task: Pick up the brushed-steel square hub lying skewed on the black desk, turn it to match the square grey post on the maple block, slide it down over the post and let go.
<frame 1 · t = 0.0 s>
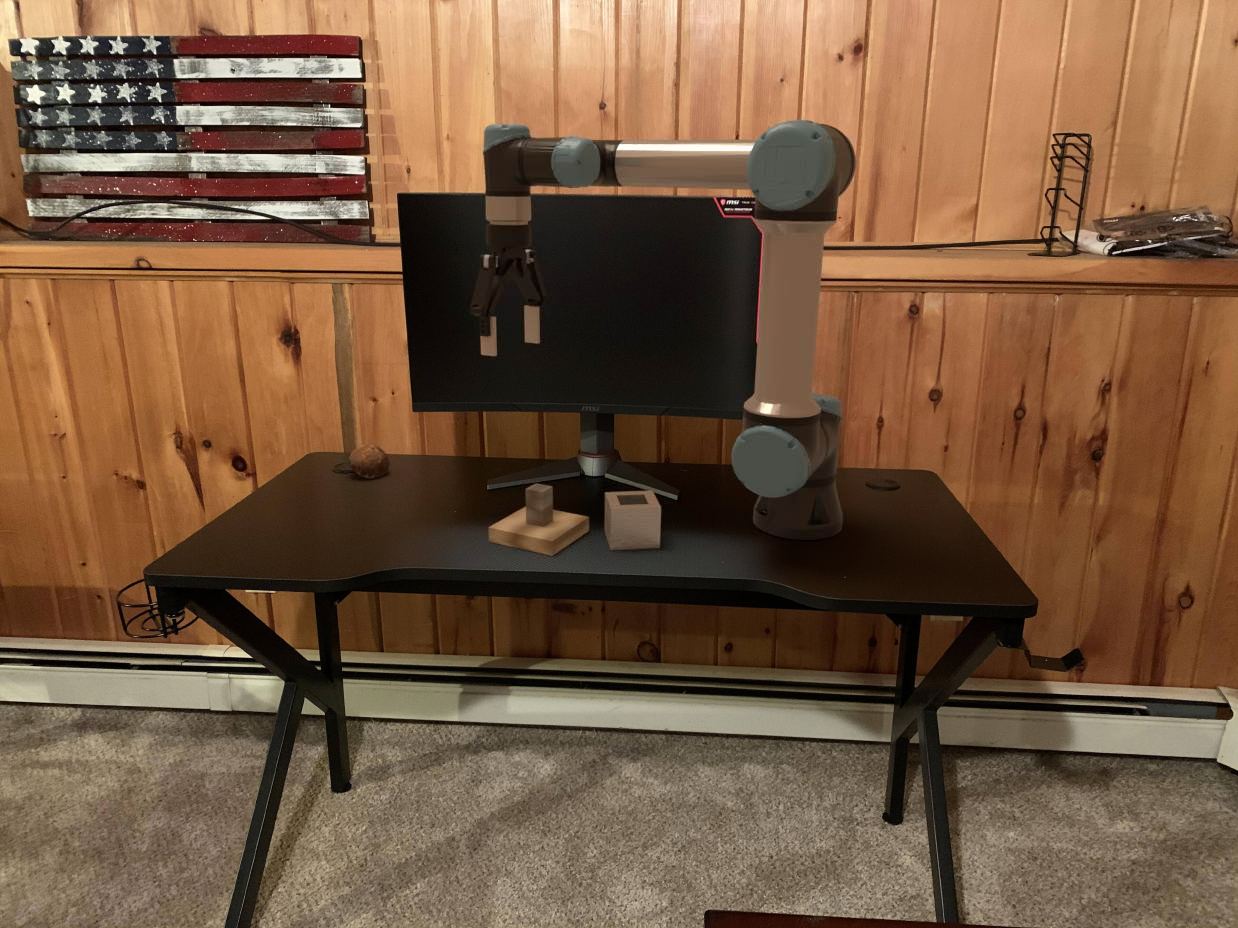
hand: (511, 348, 160), 28 cm above the table, fingers open, 13 cm apart
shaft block: (539, 536, 153), on the table
brown round lump: (370, 476, 182), on the table
hub: (631, 539, 152), on the table
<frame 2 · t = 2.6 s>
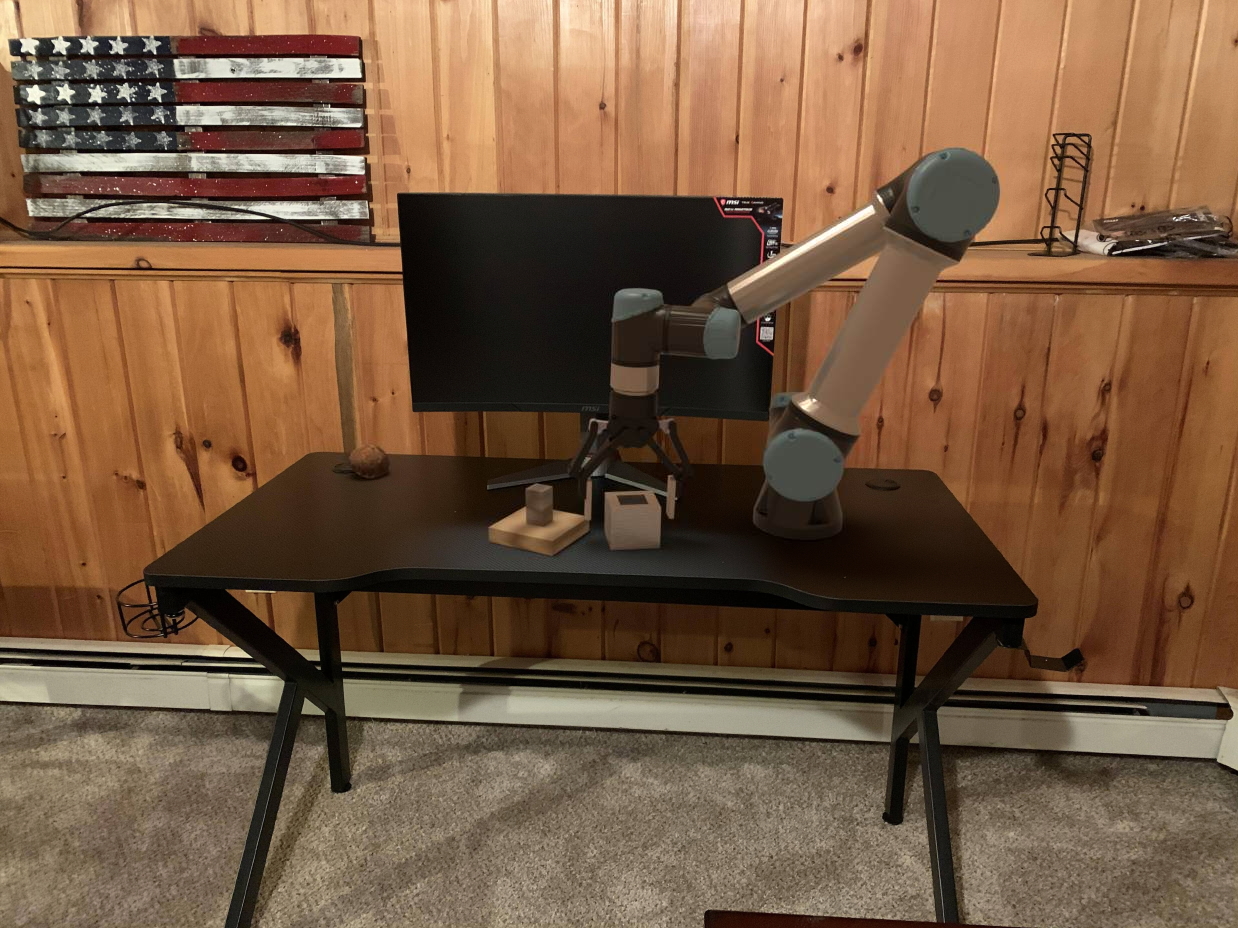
hand: (629, 516, 151), 4 cm above the table, fingers open, 13 cm apart
nothing on the table moved.
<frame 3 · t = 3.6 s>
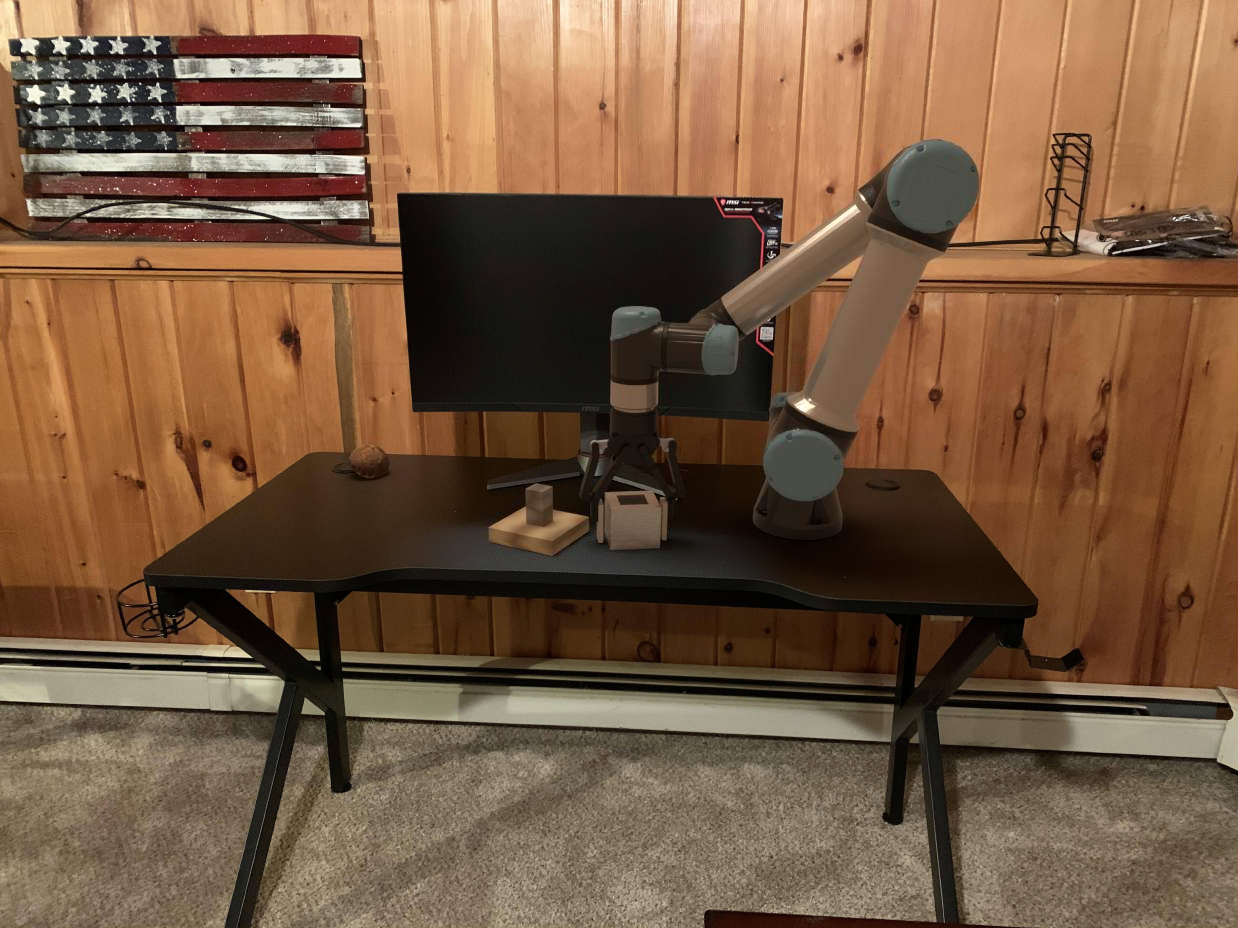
hand: (631, 538, 152), 0 cm above the table, fingers open, 10 cm apart
nothing on the table moved.
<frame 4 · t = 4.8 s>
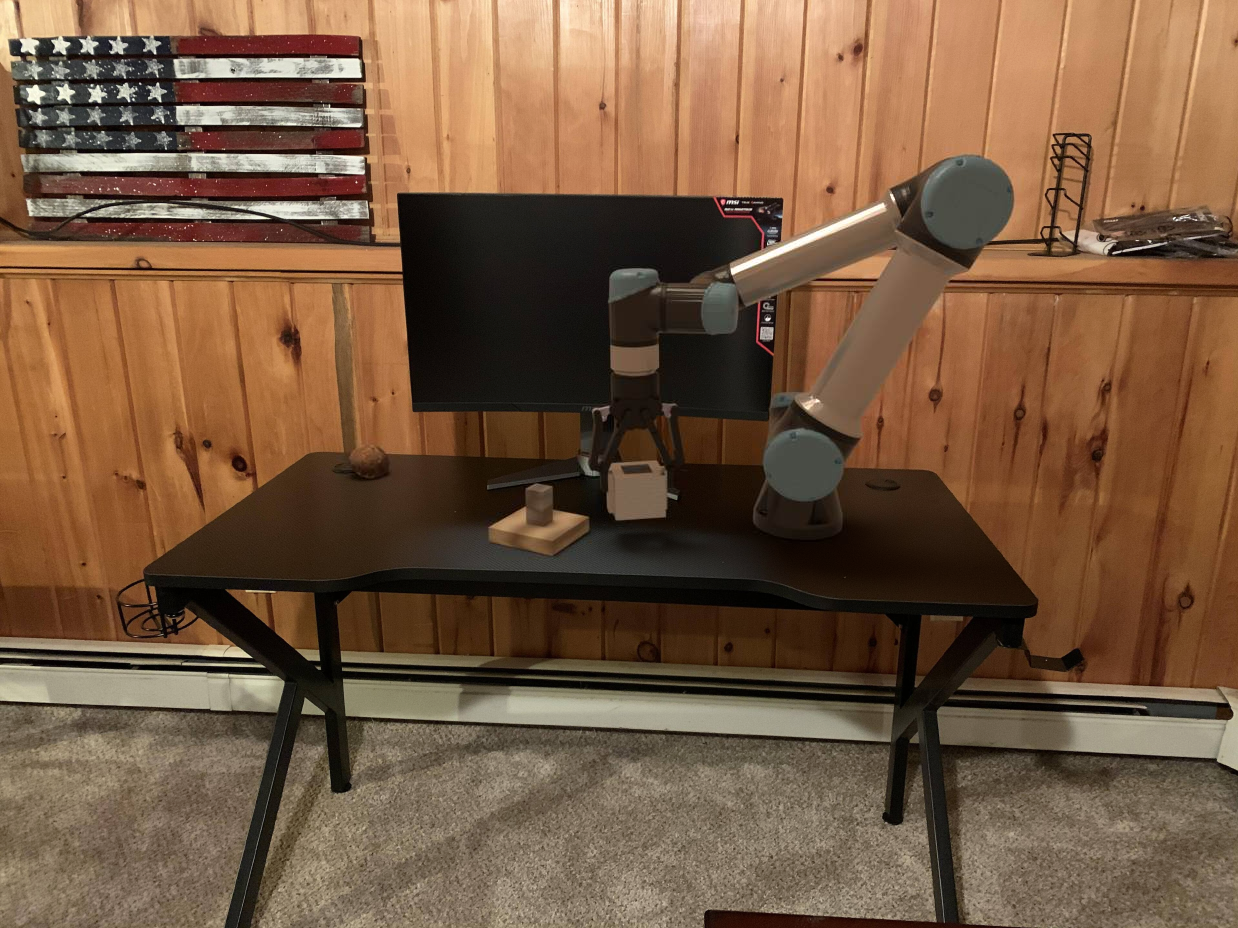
hand: (637, 508, 150), 6 cm above the table, fingers closed on hub, 8 cm apart
hub: (637, 510, 150), point 5 cm above the table, touching gripper
everything else where it was.
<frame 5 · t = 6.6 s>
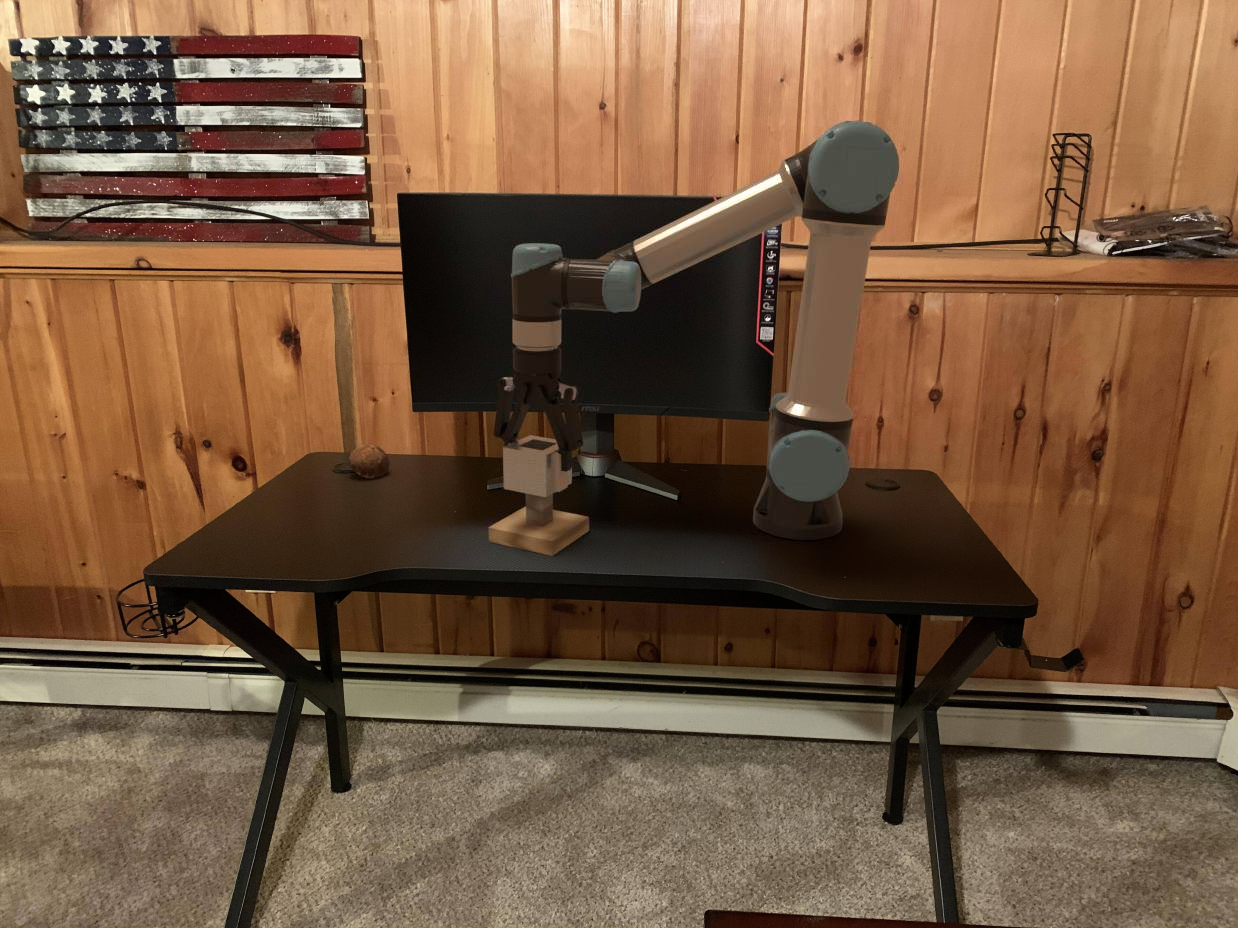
hand: (538, 484, 150), 9 cm above the table, fingers closed on hub, 8 cm apart
hub: (538, 485, 150), point 9 cm above the table, touching gripper
everything else where it was.
when the fingers open (4 cm above the table, at t = 8.4 s): hub drops 1 cm, resting on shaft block.
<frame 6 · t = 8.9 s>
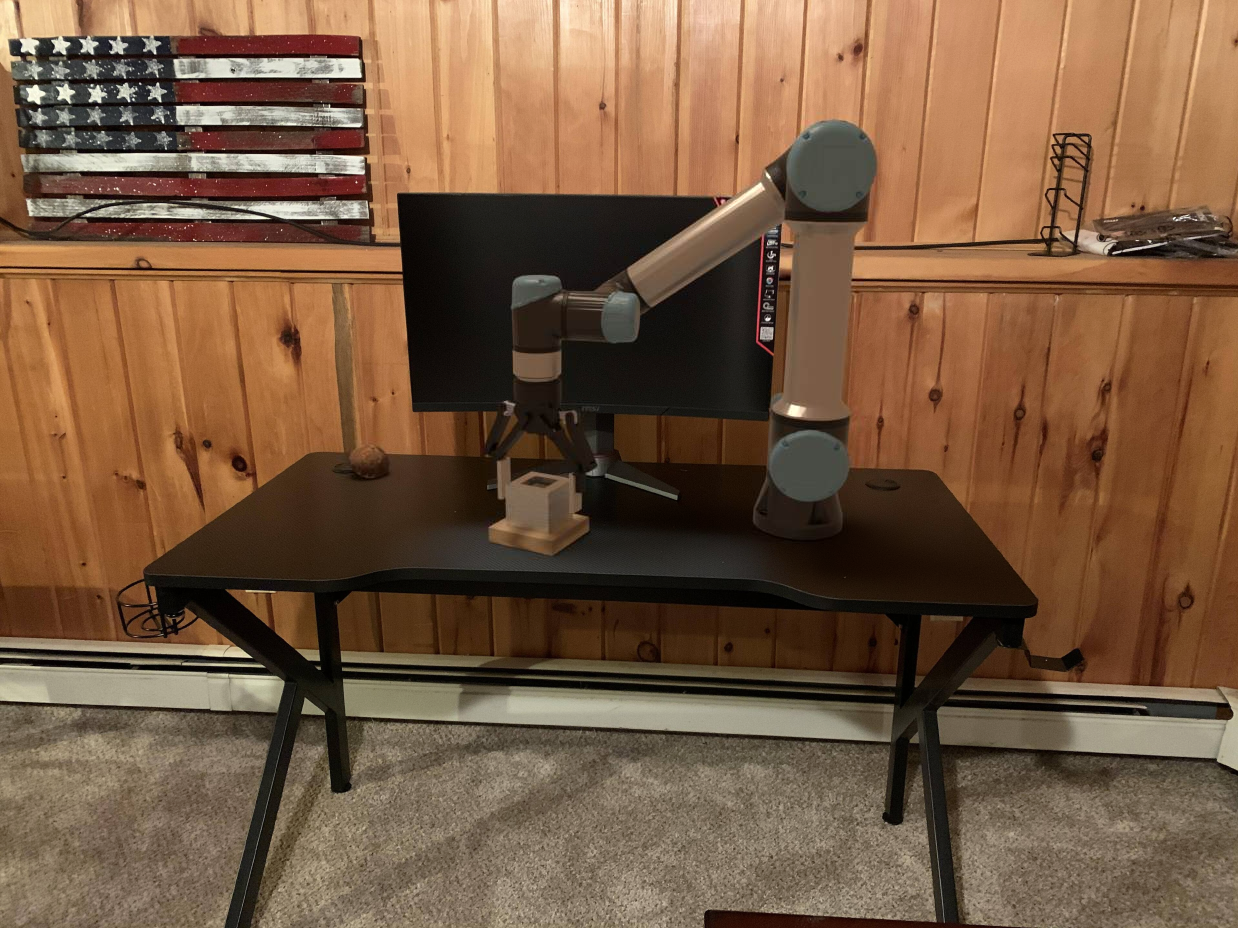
hand: (539, 503, 151), 6 cm above the table, fingers open, 13 cm apart
hub: (540, 522, 152), point 2 cm above the table, touching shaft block
everything else where it was.
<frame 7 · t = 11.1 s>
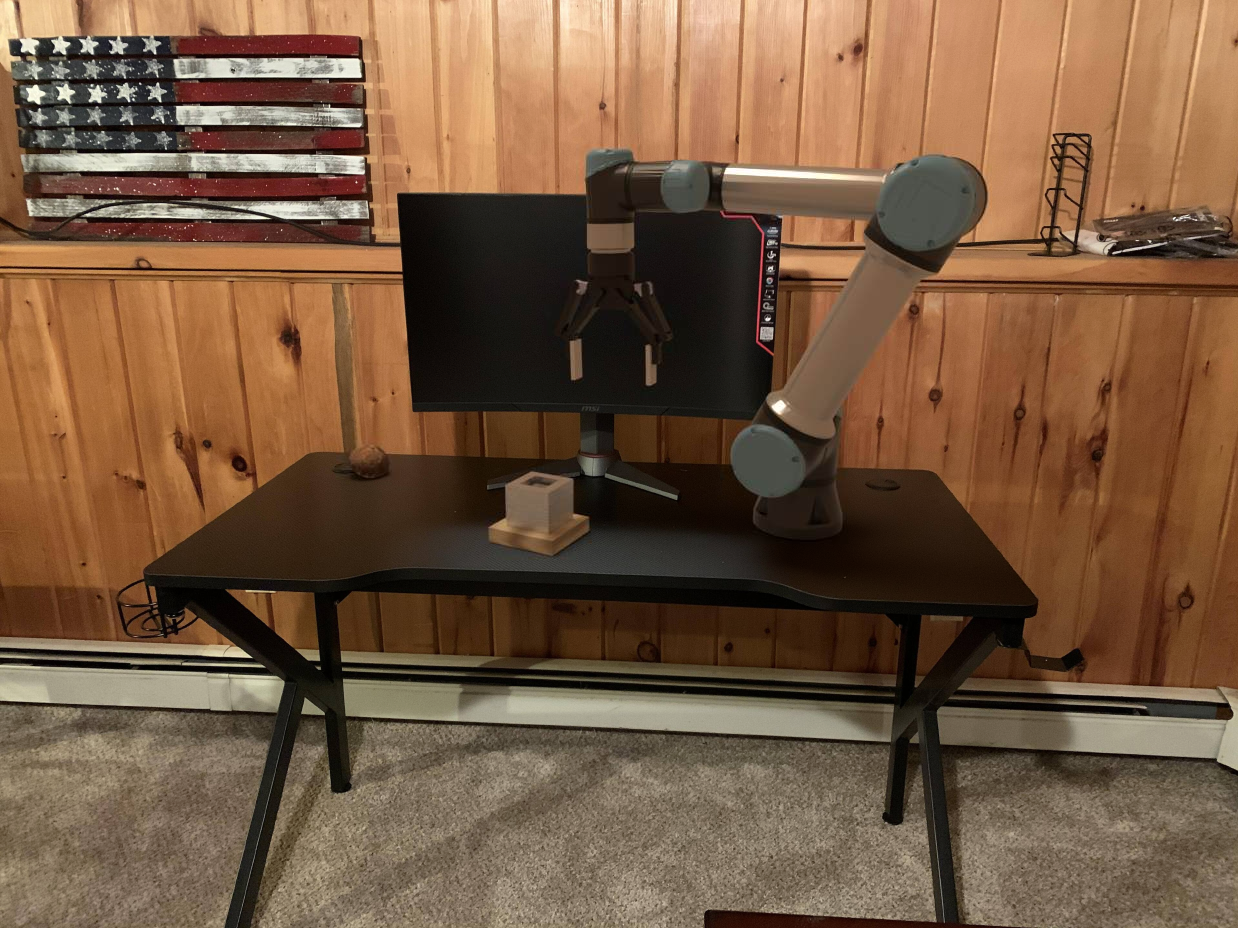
hand: (613, 381, 154), 24 cm above the table, fingers open, 13 cm apart
nothing on the table moved.
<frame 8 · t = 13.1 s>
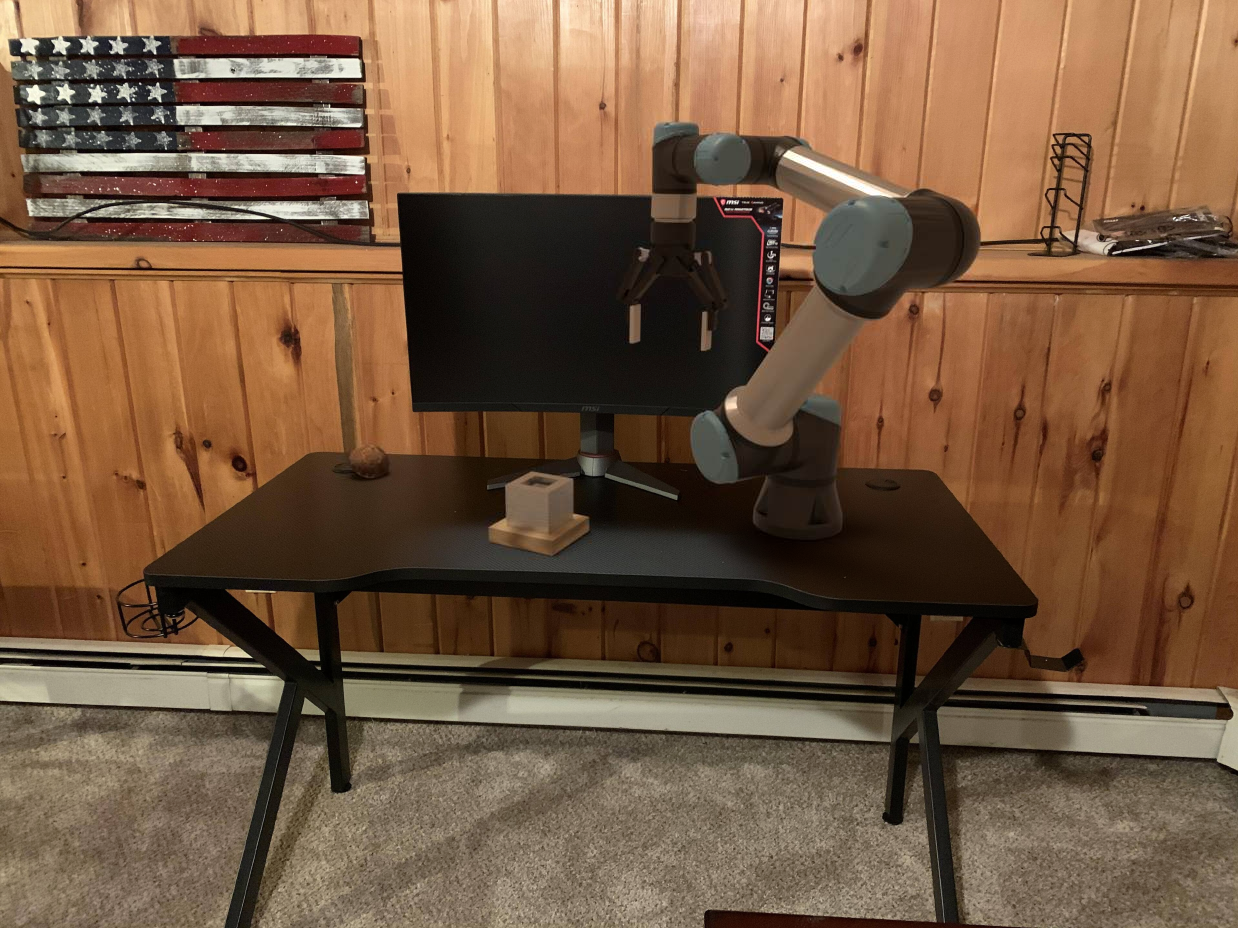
hand: (669, 346, 161), 29 cm above the table, fingers open, 13 cm apart
nothing on the table moved.
at the end: hub 0.1 cm off-centre on the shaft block, point 2.5 cm above the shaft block's base; hub tilted 0°; the gripper is holding nothing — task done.
